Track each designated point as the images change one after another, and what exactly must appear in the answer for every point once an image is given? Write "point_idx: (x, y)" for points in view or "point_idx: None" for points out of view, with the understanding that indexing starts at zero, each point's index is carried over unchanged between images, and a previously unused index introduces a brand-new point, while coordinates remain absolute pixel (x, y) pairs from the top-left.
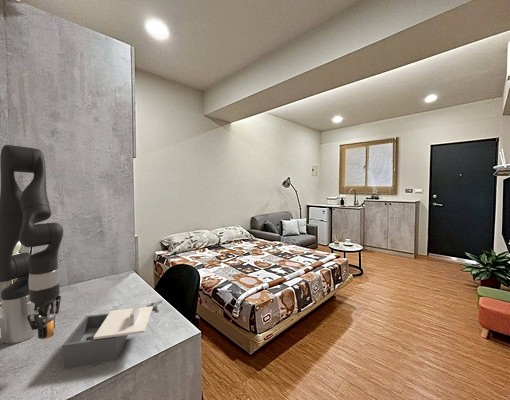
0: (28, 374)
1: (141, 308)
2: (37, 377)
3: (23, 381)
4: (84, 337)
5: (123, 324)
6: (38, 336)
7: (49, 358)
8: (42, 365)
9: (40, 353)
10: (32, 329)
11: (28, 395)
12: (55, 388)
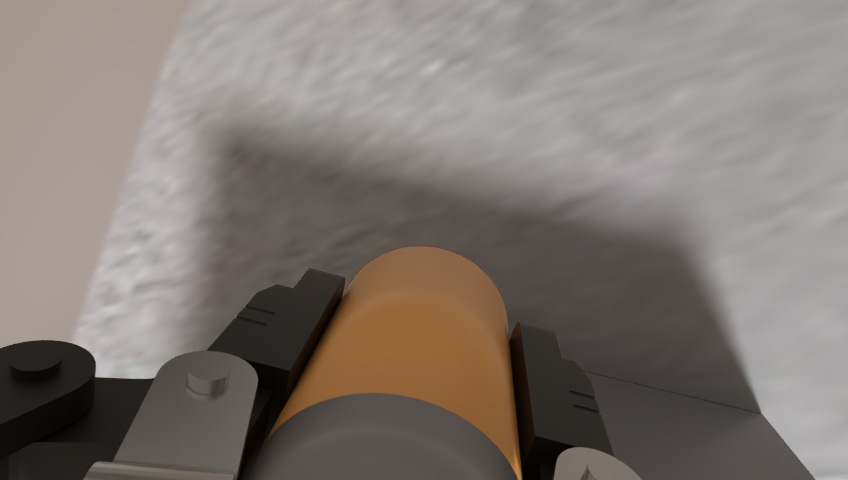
0: (384, 79)
1: None
2: (313, 160)
3: (306, 70)
4: None
5: None
6: (250, 302)
7: (542, 185)
8: (462, 155)
9: (680, 84)
10: (4, 357)
11: (133, 157)
12: (144, 304)
